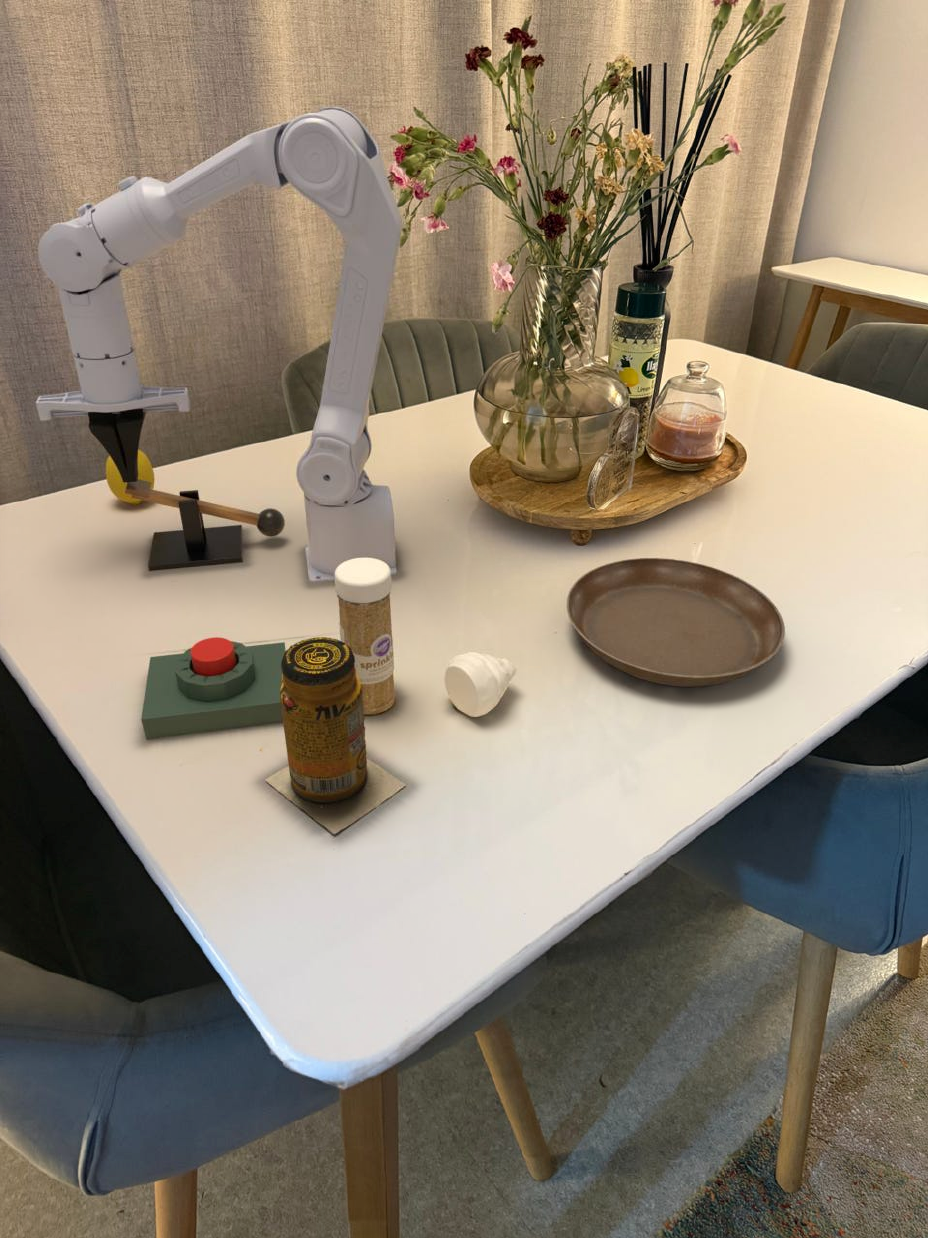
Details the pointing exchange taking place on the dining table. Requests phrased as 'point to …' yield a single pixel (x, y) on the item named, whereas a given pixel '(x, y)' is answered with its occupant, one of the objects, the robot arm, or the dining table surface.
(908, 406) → the dining table surface
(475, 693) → the white meringue
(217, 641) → the button
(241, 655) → the button box
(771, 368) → the dining table surface
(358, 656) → the sprinkles bottle
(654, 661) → the plant saucer
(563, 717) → the dining table surface
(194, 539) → the bracket
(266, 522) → the lever
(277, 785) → the condiment
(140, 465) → the lemon
